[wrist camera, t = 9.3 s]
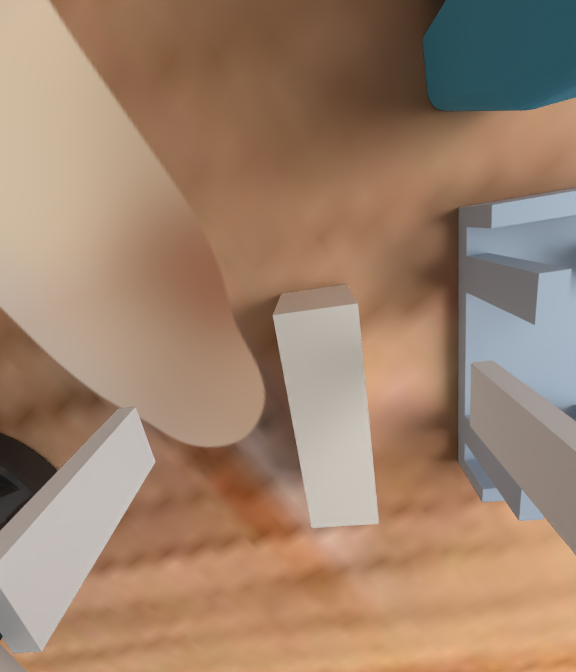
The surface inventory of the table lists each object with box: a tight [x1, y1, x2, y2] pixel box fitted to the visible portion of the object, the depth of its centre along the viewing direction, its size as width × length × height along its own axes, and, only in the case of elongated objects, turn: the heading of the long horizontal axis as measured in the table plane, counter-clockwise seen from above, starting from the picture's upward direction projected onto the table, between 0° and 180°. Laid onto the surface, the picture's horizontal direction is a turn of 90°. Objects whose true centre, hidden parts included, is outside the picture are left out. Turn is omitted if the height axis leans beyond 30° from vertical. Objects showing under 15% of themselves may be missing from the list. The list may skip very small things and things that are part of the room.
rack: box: [458, 188, 576, 521], centre depth 17 cm, size 17×8×7 cm, turn 9°
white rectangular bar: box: [273, 284, 379, 528], centre depth 20 cm, size 14×4×5 cm, turn 9°
